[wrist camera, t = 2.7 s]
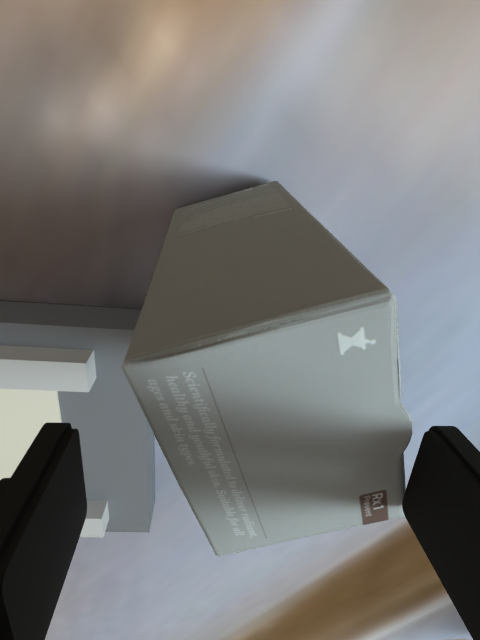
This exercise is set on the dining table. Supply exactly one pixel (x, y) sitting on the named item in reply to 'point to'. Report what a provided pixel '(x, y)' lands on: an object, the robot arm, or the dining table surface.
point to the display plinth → (79, 404)
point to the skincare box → (270, 373)
